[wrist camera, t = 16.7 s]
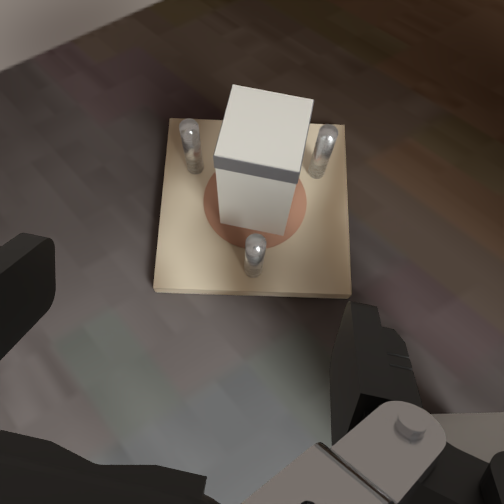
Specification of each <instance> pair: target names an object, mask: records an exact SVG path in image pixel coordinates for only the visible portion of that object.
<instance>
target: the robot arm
mask: <svg viewBox="0 0 504 504" xmlns="http://www.w3.org/2000/svg"><path fill="white" fill-rule="evenodd" d="M55 290H56V283H55V246H54V242H53V240H52V239H50V238H46V237H42V236H37V235H32V234H27V233H21V234H19V235H17V236H16V237H14V238H13V239H12V240H10V241H9V242H7V243H6V244H4V245H3V246H0V360H1V359H2V358H3V357H4V356H5V355H6V354H7V353H8V352H9V351H10V350H11V349H12V348H13V347H14V345H15V344H16V343H17V342H18V341H19V340H20V339H21V338H22V337H23V336H24V335H25V334H26V333H27V332H28V331H29V330H30V329H31V328H32V327H33V326H34V325H35V324H36V323H37V322H38V320H39V319H40V318H41V317H42V316H43V315H44V314H45V313H46V312H47V311H48V310H49V308H50V307H51V305H52V302H53V300H54V296H55ZM330 400H331V433H332V447H331V448H328V447H327V446H326V445H324V444H323V443H321V442H319V443H316V444H314V445H313V446H311V447H310V448H309V449H307V450H306V451H305V452H304V453H303V454H301V455H300V456H299V457H298V458H296V459H295V460H294V461H293V462H291V463H290V464H289V465H288V466H287V467H285V468H284V469H283V470H282V471H280V472H279V473H278V474H277V475H275V476H274V477H273V478H272V479H270V480H269V481H268V482H267V483H266V484H264V485H263V486H262V487H261V488H259V489H258V490H257V491H256V492H254V493H253V494H252V495H251V496H250V497H248V498H247V499H246V500H245V501H243V502H242V503H241V504H504V451H501V452H498V453H496V454H495V455H494V456H493V457H492V459H491V461H490V463H488V462H485V461H483V460H481V459H479V458H477V457H475V456H472V455H470V454H468V453H466V452H464V451H462V450H460V449H458V448H456V447H454V446H453V445H451V444H449V443H448V442H447V441H446V435H445V432H444V430H443V428H442V426H441V425H440V423H439V422H438V421H437V420H436V419H435V418H434V417H433V416H432V415H431V414H429V413H428V412H427V411H425V410H424V409H423V406H422V402H421V399H420V395H419V391H418V388H417V384H416V380H415V377H414V373H413V371H412V366H411V362H410V360H409V355H408V351H407V347H406V344H405V342H404V341H403V340H402V338H401V337H400V336H399V335H398V334H397V332H396V331H395V330H394V329H390V328H385V327H381V322H380V317H379V312H378V308H377V307H376V306H371V305H366V304H362V303H357V302H352V301H348V303H347V305H346V307H345V310H344V314H343V317H342V320H341V324H340V327H339V330H338V334H337V337H336V341H335V344H334V347H333V351H332V356H331V362H330ZM206 479H207V476H202V475H198V474H193V473H189V472H184V471H180V470H176V469H171V468H167V467H162V466H158V465H98V464H95V463H92V462H90V461H88V460H86V459H84V458H82V457H81V456H79V455H77V454H75V453H73V452H71V451H69V450H67V449H65V448H63V447H61V446H59V445H57V444H55V443H53V442H51V441H48V440H43V439H39V438H34V437H30V436H25V435H21V434H17V433H12V432H8V431H3V430H1V431H0V504H220V503H218V502H217V501H215V500H214V499H212V498H211V497H209V496H207V495H205V494H204V490H205V485H206Z"/></svg>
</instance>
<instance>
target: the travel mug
mask: <svg viewBox="0 0 504 504" xmlns="http://www.w3.org/2000/svg"><path fill="white" fill-rule="evenodd" d="M431 415H432V416H433V417H434V418H435V419H436V420H437V421H438V422H439V423H440V425H441V426H442V428H443V430H444V432H445V435H446V441H447V442H448V443H449V444H451V445H453V446H454V447H456V448H458V449H460V450H462V451H464V452H466V453H468V454H470V455H472V456H475V457H477V458H479V459H481V460H483V461H485V462H488V463H490V461H491V459H492V457H493V456H494V455H495V454H496V453H498V452H501V451H504V412H495V413H455V414H431Z"/></svg>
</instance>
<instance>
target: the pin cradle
mask: <svg viewBox="0 0 504 504" xmlns="http://www.w3.org/2000/svg"><path fill="white" fill-rule="evenodd" d="M222 121H223V120H204V119H190V118H188V119H179V118H170V121H169V131H168V142H167V152H166V162H165V172H164V182H163V192H162V203H161V213H160V223H159V233H158V243H157V254H156V264H155V274H154V284H153V288H154V290H155V292H158V293H188V294H218V295H248V296H278V297H308V298H338V299H348V298H349V297H350V296H351V295H352V293H351V270H350V246H349V222H348V199H347V175H346V152H345V128H344V125H332V124H310V125H309V130H308V135H307V140H306V146H305V151H304V156H303V161H302V166H301V171H300V176H299V179H298V183H297V184H296V187H295V191H294V195H293V199H292V203H291V208H290V212H289V216H288V220H287V224H286V228H285V232H284V236H281V235H277V234H272V233H267V232H262V231H257V230H252V229H247V228H242V227H237V226H232V225H227V224H222V223H220V214H219V203H218V192H217V181H216V170H215V168H214V161H213V155H214V151H215V147H216V143H217V140H218V136H219V132H220V129H221V125H222Z"/></svg>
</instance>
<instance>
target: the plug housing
mask: <svg viewBox="0 0 504 504" xmlns="http://www.w3.org/2000/svg"><path fill="white" fill-rule="evenodd" d="M313 105H314V100H312V99H307V98H301V97H296V96H291V95H286V94H280V93H275V92H270V91H265V90H260V89H254V88H249V87H244V86H239V85H232V88H231V91H230V95H229V99H228V102H227V106H226V110H225V114H224V117H223V121H222V125H221V129H220V132H219V136H218V140H217V143H216V147H215V151H214V155H213V161H214V168H215V170H216V181H217V192H218V203H219V214H220V223H222V224H227V225H232V226H237V227H242V228H247V229H252V230H257V231H262V232H267V233H272V234H277V235H281V236H284V232H285V228H286V224H287V220H288V216H289V212H290V208H291V203H292V199H293V195H294V191H295V187H296V184H297V183H298V179H299V176H300V171H301V166H302V161H303V156H304V151H305V146H306V140H307V135H308V130H309V125H310V120H311V115H312V110H313Z"/></svg>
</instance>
